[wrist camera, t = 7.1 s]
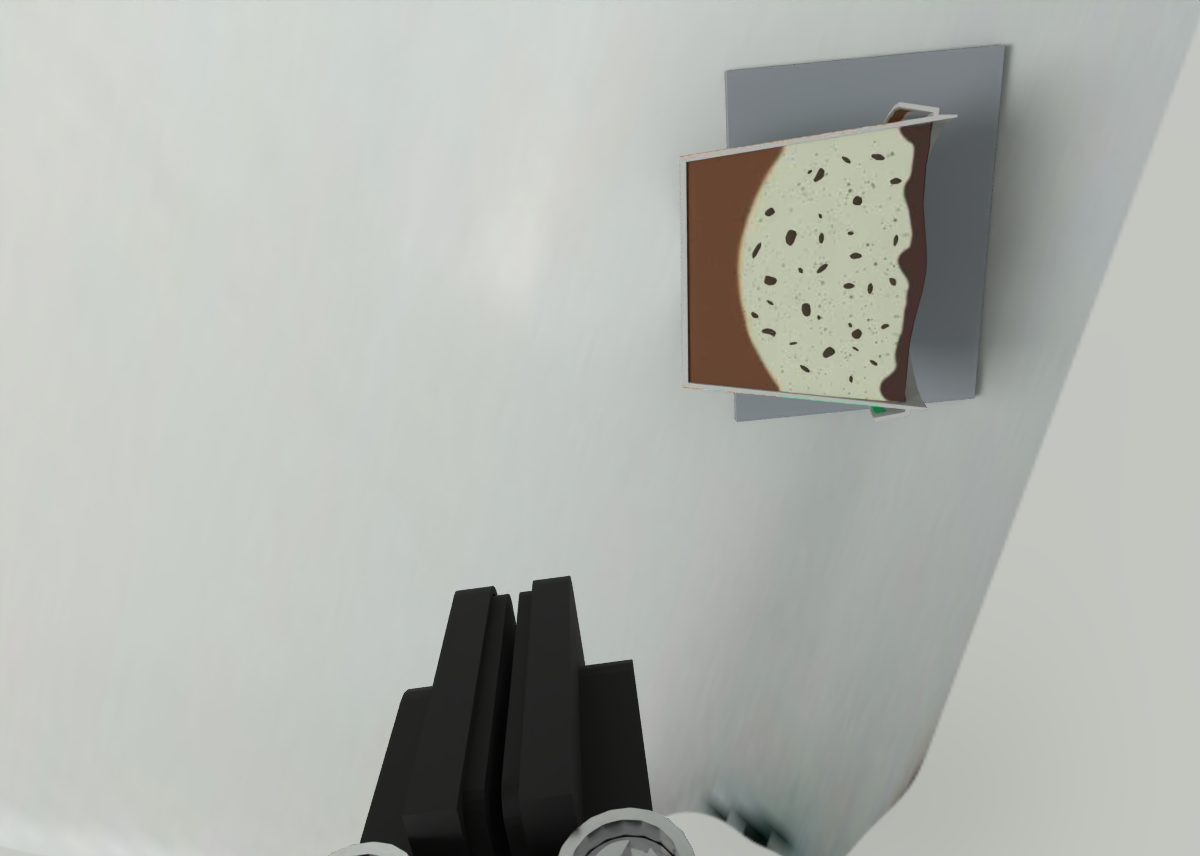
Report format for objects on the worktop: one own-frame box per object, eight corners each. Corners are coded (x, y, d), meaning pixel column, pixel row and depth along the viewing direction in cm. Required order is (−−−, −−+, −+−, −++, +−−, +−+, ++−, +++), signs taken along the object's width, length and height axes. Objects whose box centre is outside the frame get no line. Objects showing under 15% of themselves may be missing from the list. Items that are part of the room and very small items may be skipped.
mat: (724, 71, 33) (726, 70, 33) (1000, 45, 33) (1005, 44, 33) (735, 419, 39) (736, 421, 38) (970, 395, 39) (974, 398, 38)
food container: (689, 379, 39) (895, 378, 37) (683, 420, 33) (925, 421, 32) (686, 118, 35) (919, 105, 33) (679, 114, 29) (959, 98, 27)
